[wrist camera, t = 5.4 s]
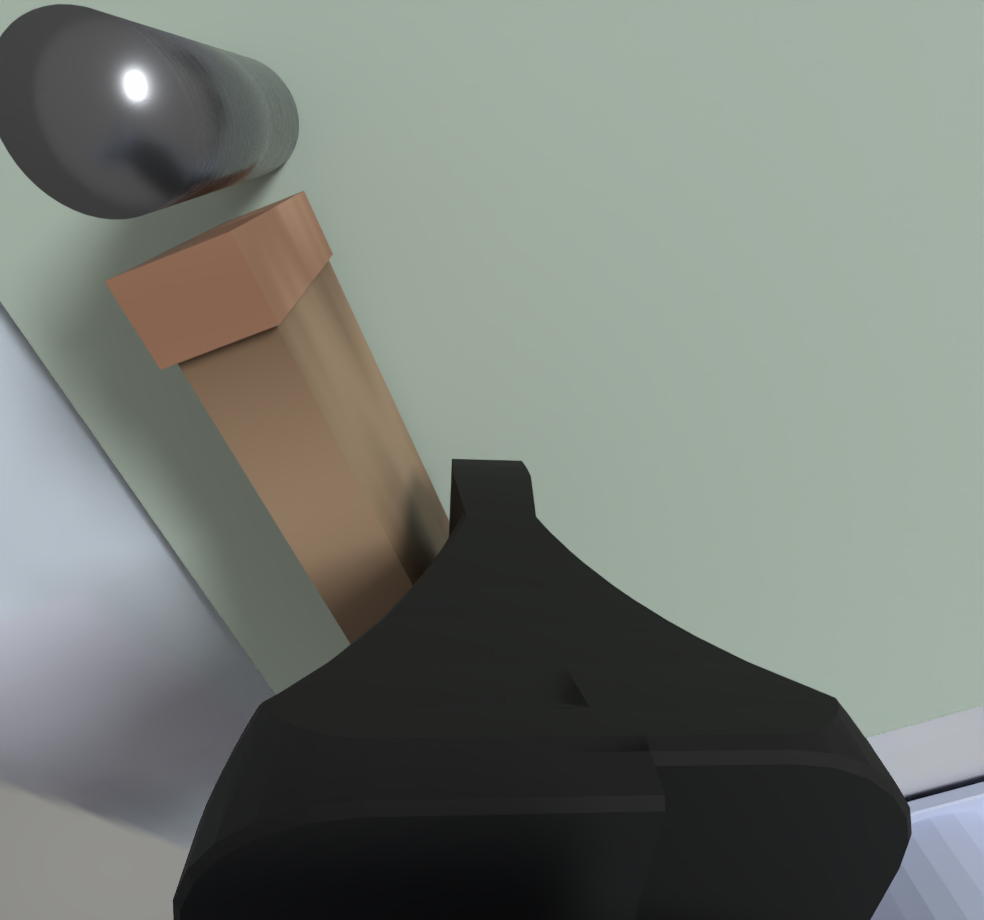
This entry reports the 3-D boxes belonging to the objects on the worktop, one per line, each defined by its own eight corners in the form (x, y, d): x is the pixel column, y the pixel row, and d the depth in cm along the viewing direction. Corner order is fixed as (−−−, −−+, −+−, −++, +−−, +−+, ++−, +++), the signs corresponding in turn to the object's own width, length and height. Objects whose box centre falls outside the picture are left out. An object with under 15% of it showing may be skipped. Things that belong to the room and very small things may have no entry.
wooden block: (558, 749, 16) (592, 924, 13) (505, 765, 16) (524, 943, 13) (303, 190, 10) (230, 231, 6) (221, 223, 10) (105, 281, 7)
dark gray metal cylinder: (575, 763, 18) (626, 1002, 13) (520, 779, 18) (550, 1021, 13) (277, 42, 10) (123, -28, 5) (181, 80, 10) (-57, 48, 5)
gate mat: (1025, 671, 18) (1043, 688, 17) (397, 847, 19) (396, 868, 19) (1123, -509, 8) (1172, -554, 7) (-156, 33, 10) (-191, 29, 9)
